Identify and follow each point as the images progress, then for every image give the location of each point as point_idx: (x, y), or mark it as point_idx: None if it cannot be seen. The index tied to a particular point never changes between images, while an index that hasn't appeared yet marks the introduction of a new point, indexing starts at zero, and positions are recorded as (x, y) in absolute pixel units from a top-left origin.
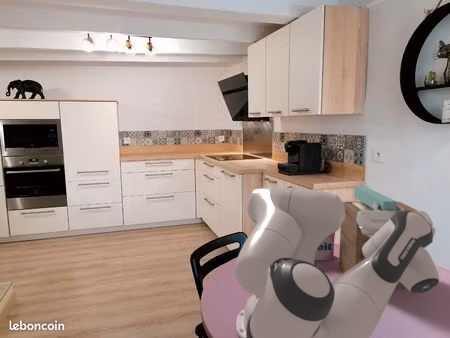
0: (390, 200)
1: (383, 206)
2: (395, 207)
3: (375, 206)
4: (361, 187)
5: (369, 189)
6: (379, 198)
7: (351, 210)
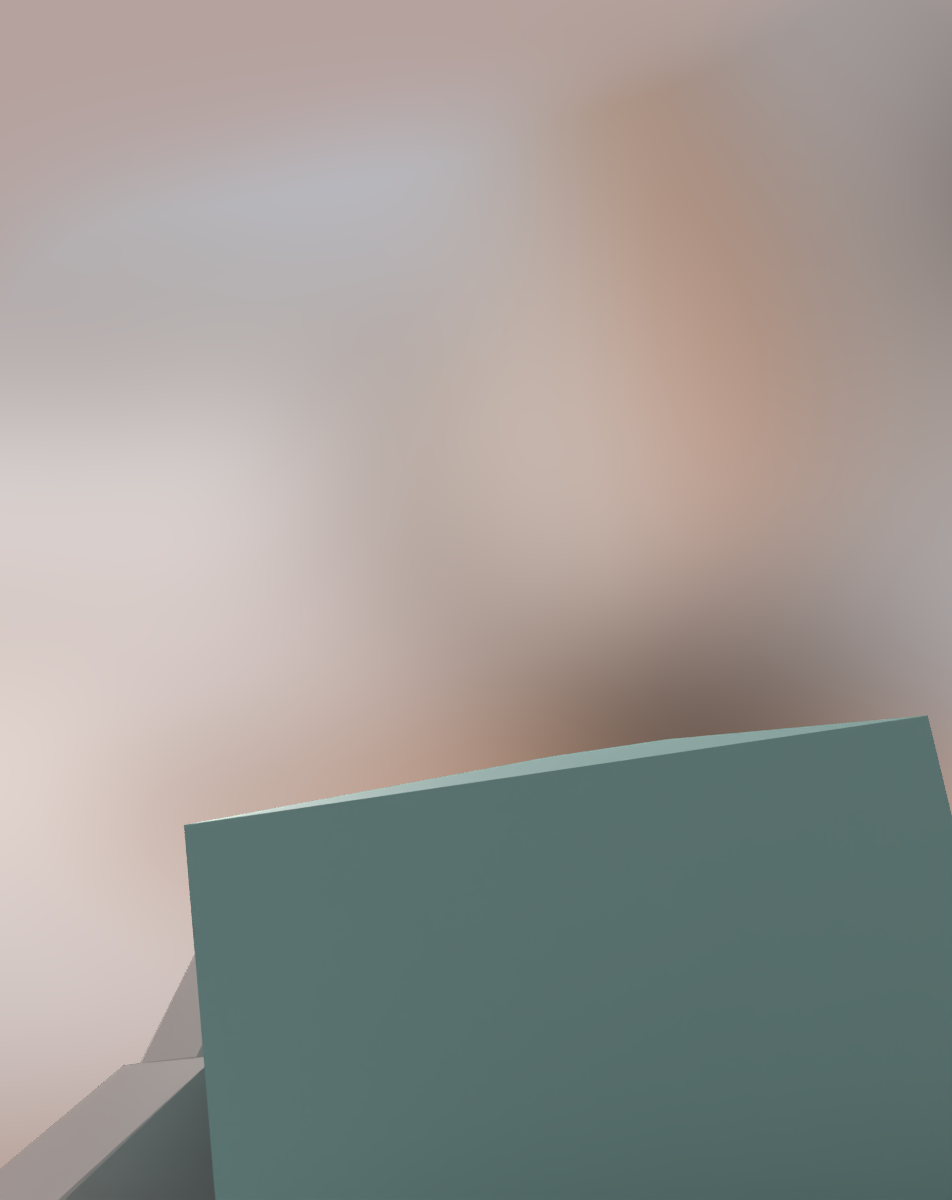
0: (667, 749)
1: (224, 1115)
2: (948, 1108)
3: (71, 1110)
4: (600, 749)
5: (650, 742)
6: (442, 778)
7: None
